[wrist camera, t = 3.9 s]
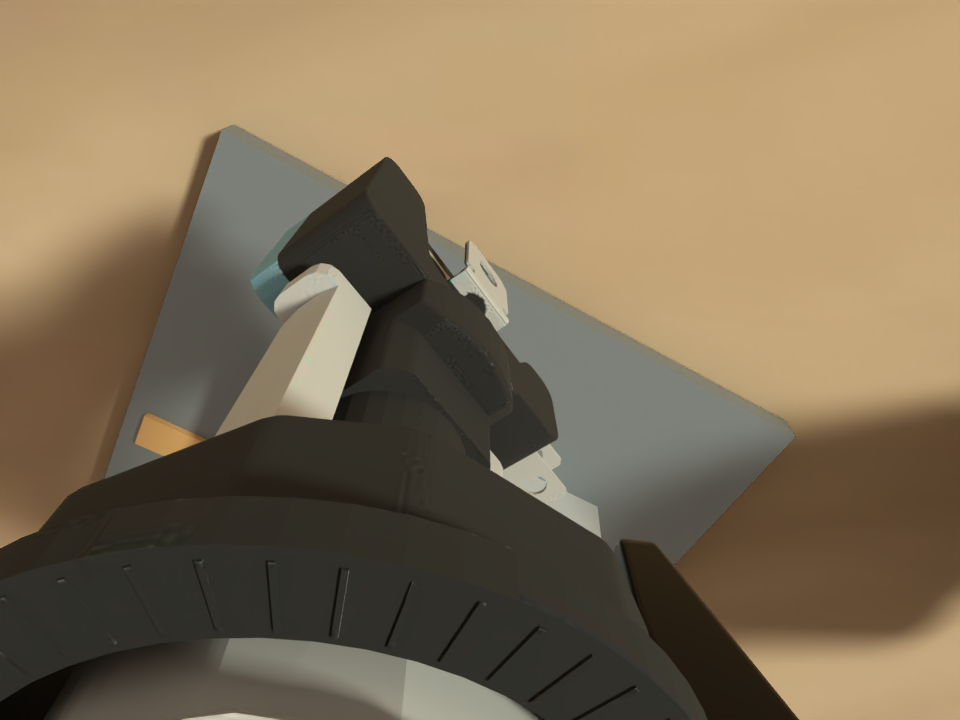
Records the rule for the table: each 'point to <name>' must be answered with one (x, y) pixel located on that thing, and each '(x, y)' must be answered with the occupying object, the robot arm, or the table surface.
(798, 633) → the table surface
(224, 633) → the push button
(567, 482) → the socket board
